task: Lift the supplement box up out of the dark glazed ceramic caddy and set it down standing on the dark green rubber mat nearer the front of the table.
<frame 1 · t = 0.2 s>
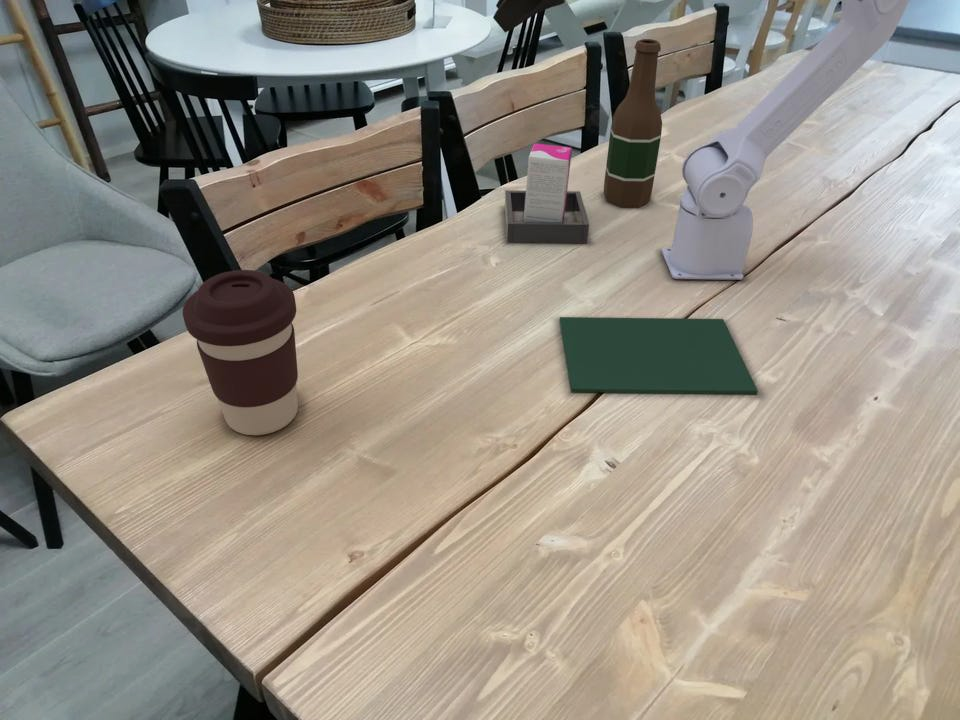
hand: (500, 18, 84), 31 cm above the table, tool tilted 45°, fingers open, 7 cm apart
caddy: (544, 225, 111), on the table
mat: (651, 354, 85), on the table
supplement box: (544, 226, 111), resting in caddy
beer bottle: (626, 199, 120), on the table
coffee cup: (262, 415, 76), on the table
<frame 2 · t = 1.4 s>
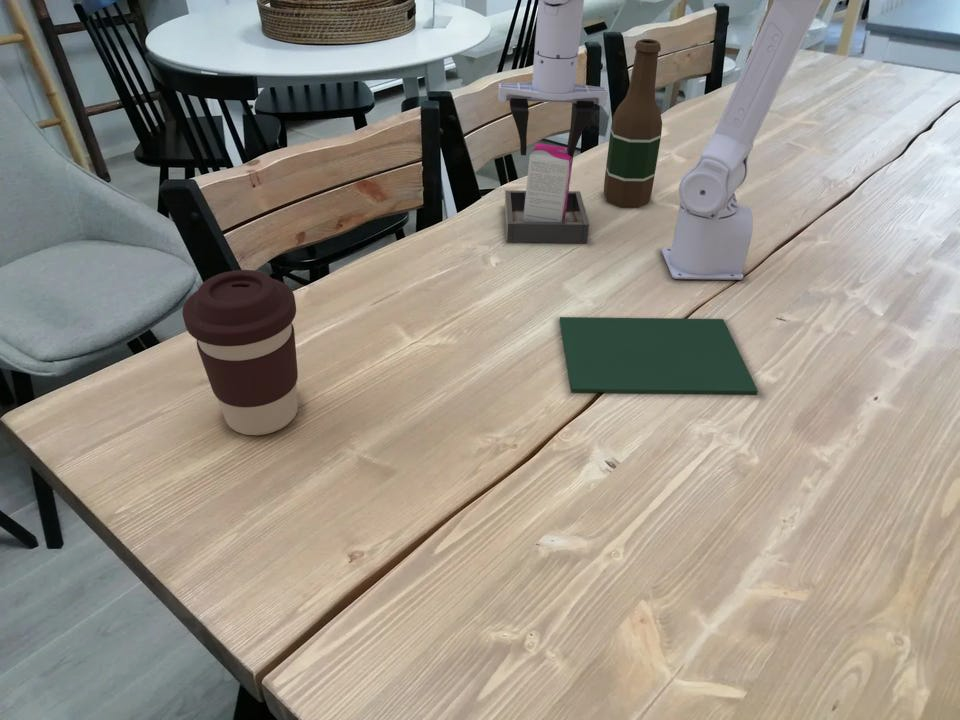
hand: (546, 153, 105), 11 cm above the table, tool pointing down, fingers open, 6 cm apart
supplement box: (544, 226, 111), resting in caddy, touching gripper
everything else where it was.
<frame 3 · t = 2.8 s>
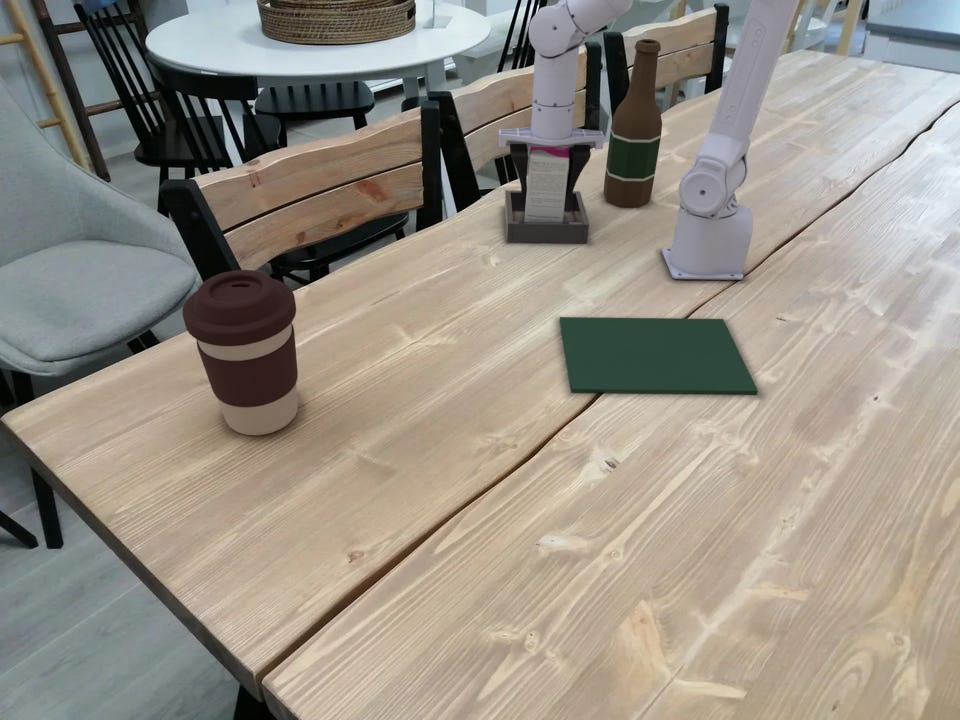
hand: (546, 194, 108), 5 cm above the table, tool pointing down, fingers closed on supplement box, 6 cm apart
supplement box: (543, 224, 112), resting in caddy, touching gripper
everything else where it was.
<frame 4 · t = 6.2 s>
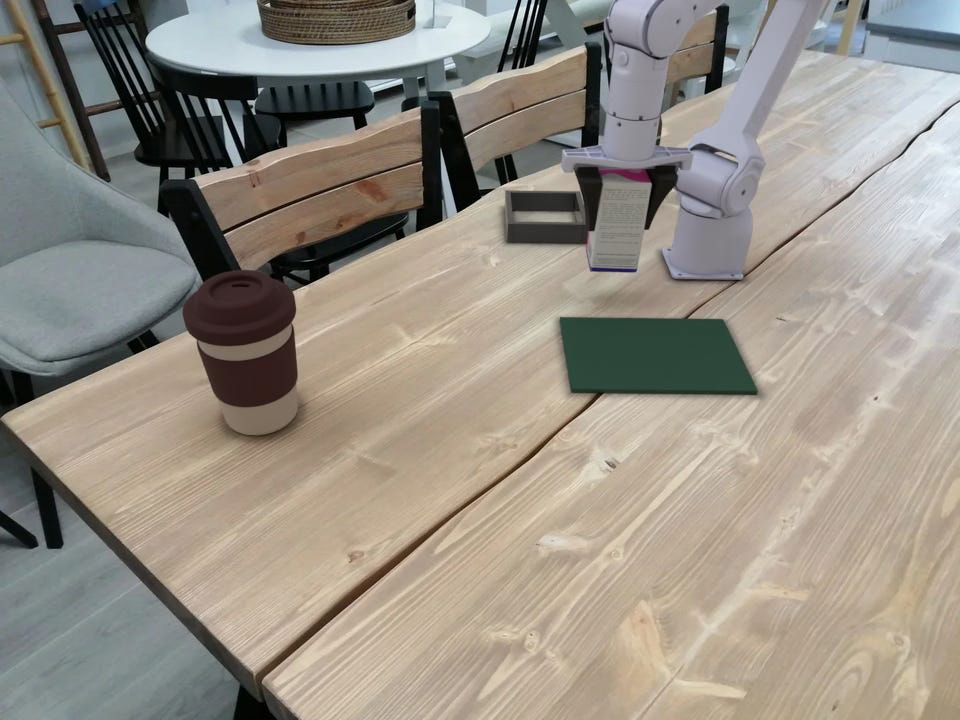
hand: (617, 226, 88), 10 cm above the table, tool pointing down, fingers closed on supplement box, 6 cm apart
supplement box: (611, 262, 91), point 5 cm above the table, touching gripper
everything else where it was.
when the fingers open (5 cm above the table, at t = 10.0 s): supplement box stays where it is, resting on mat.
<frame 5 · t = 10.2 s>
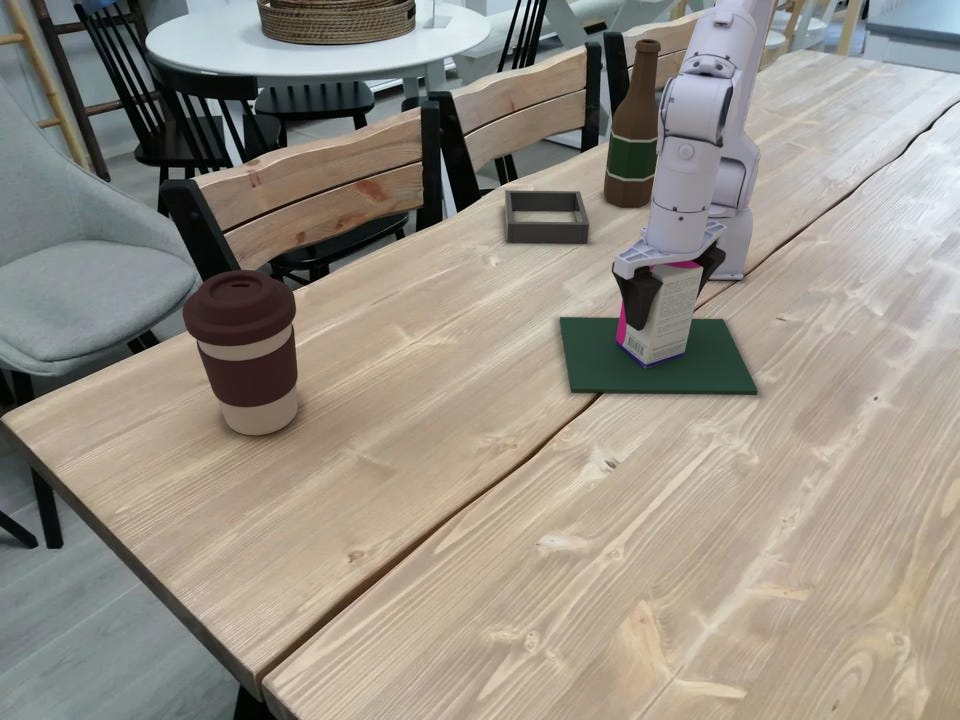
hand: (659, 315, 82), 5 cm above the table, tool pointing down, fingers open, 7 cm apart
supplement box: (649, 350, 85), resting on mat
everything else where it was.
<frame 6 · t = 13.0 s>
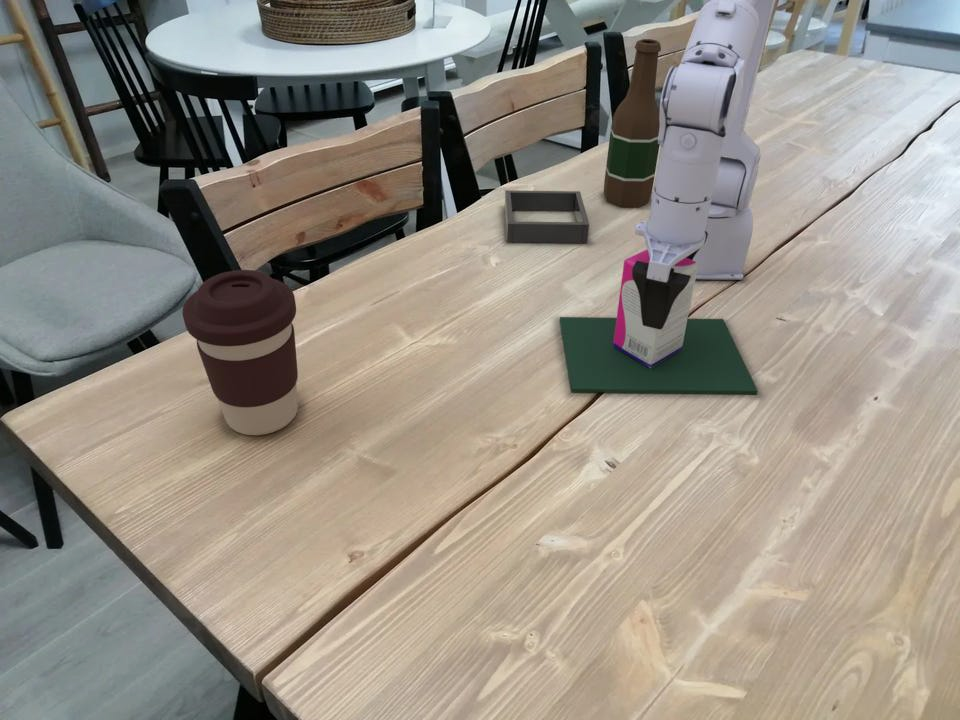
hand: (660, 307, 81), 6 cm above the table, tool pointing down, fingers closed on supplement box, 7 cm apart
supplement box: (646, 349, 85), resting on mat, touching gripper
everything else where it was.
when the fingers open (10 cm above the table, at t = 17.3 s): supplement box drops 4 cm, resting on mat.
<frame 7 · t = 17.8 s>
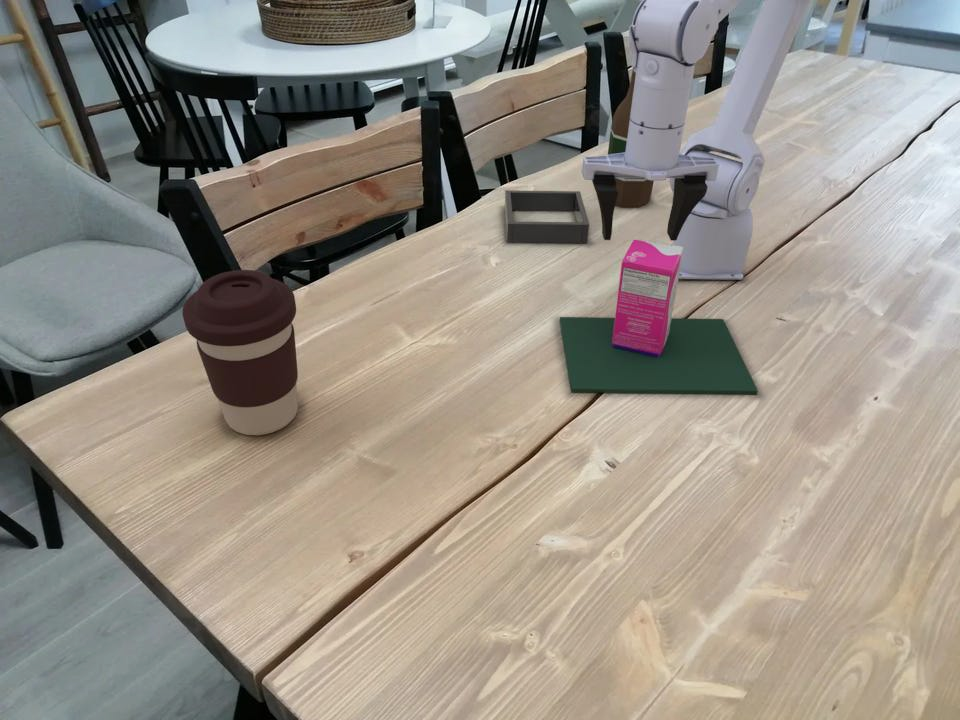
hand: (638, 236, 86), 10 cm above the table, tool pointing down, fingers open, 7 cm apart
supplement box: (639, 341, 86), resting on mat
everything else where it was.
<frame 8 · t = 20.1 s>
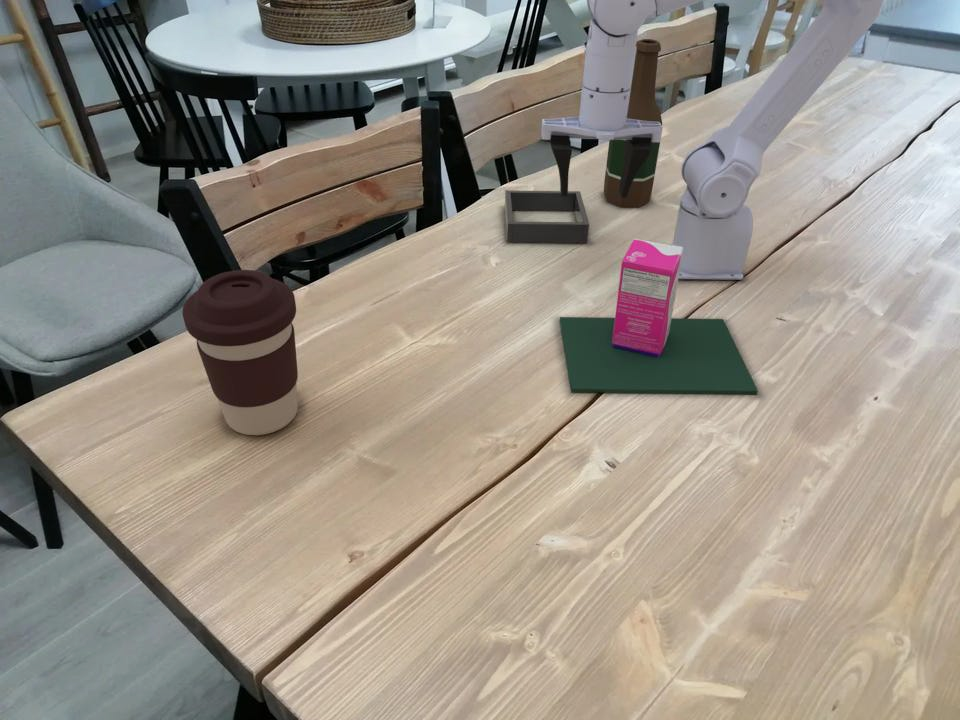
hand: (593, 193, 95), 10 cm above the table, tool pointing down, fingers open, 7 cm apart
nothing on the table moved.
at the end: supplement box inside the target area on the mat (2.5 cm from its centre), point 0.3 cm above the mat's base; supplement box tilted 0°; the gripper is holding nothing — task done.
